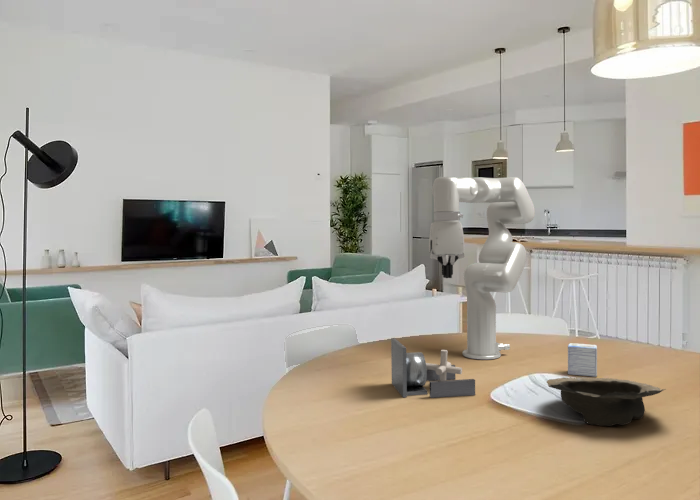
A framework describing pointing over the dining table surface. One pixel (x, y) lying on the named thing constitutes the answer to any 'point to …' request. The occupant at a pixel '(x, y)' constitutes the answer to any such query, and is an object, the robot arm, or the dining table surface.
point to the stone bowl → (604, 398)
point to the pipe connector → (443, 367)
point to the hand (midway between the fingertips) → (447, 277)
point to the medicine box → (582, 359)
